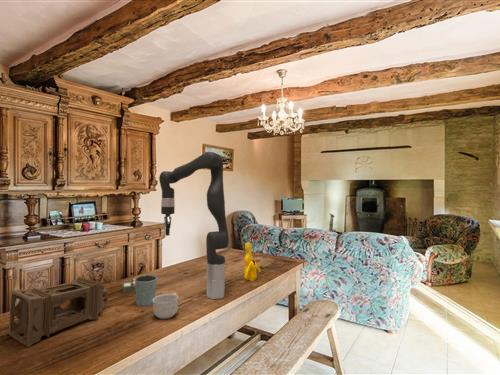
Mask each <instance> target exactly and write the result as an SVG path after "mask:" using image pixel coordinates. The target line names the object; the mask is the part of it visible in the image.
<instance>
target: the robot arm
mask: <svg viewBox="0 0 500 375" xmlns="http://www.w3.org/2000/svg"><path fill="white" fill-rule="evenodd" d="M202 169H208V170H210V184H209V186H208V188H207V190H206V191H207V192H206V206H207V209H208V211H209V212H210V214H211V215H212V217H213V218H214V219H215V222H216V224H217V227H218V231H209V232H207V234H206V240H205V245H206V246H205V247H206V297H207V298H208V299H211V300H216V299H217V300H218V299H224V297H225V289H226V288H225V283H226V257H225V256H224V255H222V254H218V253H217V250H225V249H227V248H228V247H229V243H230V237H229V230H228V225H227V218H226V217H227V215H226V206H225V205H226V204H225V203H226V202H225V193H224V192H225V191H224V160H223V157H222V155H220V154H219V153H216V152H212V151H206V152H204V153H202V154H201V155H199V156H198V157H195V158H194V159H193V160H191V161H190V162H187V163H185V164H182V165H180V166H178V167H176V168H174V169H173V171H166V170H165V171H162V172H160V174H159V177H158V178H159V179H158V181H159V184H160V188H161V203H160V204H161V205H160V206H161V207H160V212H161V215H165V216H164V217H163V219H164V220H163V222H164V229H165V232H164V233H165V236H167V237H168V236H170V229H171V226H172V216H171V215H174V214H175V210H176V209H175V201H176V200H175V189H174V188H173V187H171V185H170V184H176V183H177V182H179V181H181V180H183V179H185V178H188V177H190V176H192V175H193V174H194V173H195V172H196V171H199V170H202Z"/></svg>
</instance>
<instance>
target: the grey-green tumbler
mask: <svg viewBox="0 0 500 375" xmlns="http://www.w3.org/2000/svg"><path fill="white" fill-rule="evenodd" d="M134 278H135V288H136V292H135V295H136V296H135V304H136V305H137V306H138V307H149V306H151V305H152V306H153V301H152V300H153V298H155V297H156V292H157V291H156V290H157V282H158V277H157V275H154V274H143V275H139V276H136V277H134Z"/></svg>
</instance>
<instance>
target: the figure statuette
mask: <svg viewBox="0 0 500 375" xmlns="http://www.w3.org/2000/svg"><path fill="white" fill-rule="evenodd" d="M244 246H245V247H244V249H245V256H244V260H243V262H244V263H243V264H244V271H243V273H244V274H243V275H244V280H246V281H250V282H254V281H256V280H257V272H258V273H260V272H262V270H261V268H260V267H259V265H258V264H257V261H256V260H255V259H254V257H253V254H252V246H253V245H252V242H245V244H244Z"/></svg>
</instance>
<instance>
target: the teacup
mask: <svg viewBox="0 0 500 375" xmlns="http://www.w3.org/2000/svg"><path fill="white" fill-rule="evenodd" d="M152 301H153V304H152V311H153V314H154V315H155V317H157V318H158V319H163V320H165V319H170V318H172V317H174V316H175V314H177V313H178V310H179V309H178V308H179V294H178V293H177V292H173V293H163V294H160V295H155V298H153V300H152Z"/></svg>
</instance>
